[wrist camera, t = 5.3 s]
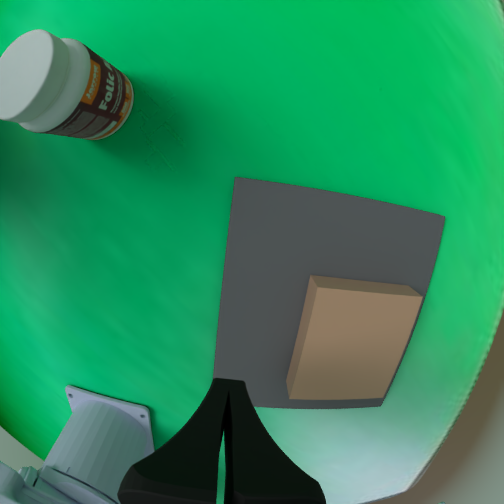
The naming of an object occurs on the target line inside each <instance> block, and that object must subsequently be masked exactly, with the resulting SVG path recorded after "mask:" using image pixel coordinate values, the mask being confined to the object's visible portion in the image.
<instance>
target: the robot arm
mask: <svg viewBox="0 0 504 504" xmlns="http://www.w3.org/2000/svg"><path fill="white" fill-rule="evenodd" d="M65 391H66V394H67V397H68V400H69V404H70V407H71V410H72V413H73V414H72V415H71V417H70V419H69V420H68V422H67V423H66V425H65V427H64V428H63V430H62V432H61V434H60V435H59V437H58V439H57V440H56V442H55V444H54V445H53V447H52V449H51V451H50V452H49V454H48V456H47V458H46V460H45V461H44V463H43V465H42V467H41V468H40V469H39V470H38V471H37V470H36V469H34V468H33V467H32V466H30V467H22V468H21V469H20V470H19V471H18V472H17V471H15V470H14V469H12V468H11V467H9V466H7V465H6V464H4V463H3V462H1V461H0V504H216V497H217V479H218V462H219V452H220V447H221V442H222V437H223V431H224V443H225V465H226V476H225V492H224V504H326V499H325V496H324V493H323V491H322V489H321V486H320V484H319V482H317V481H316V480H315V479H313V478H312V477H310V476H309V475H308V474H306V473H305V472H304V471H303V470H301V469H300V468H299V467H298V466H297V465H296V464H295V463H294V462H293V461H292V460H291V459H290V458H289V457H288V456H287V455H286V454H285V453H284V452H283V451H282V450H281V449H280V448H279V446H278V445H277V444H276V443H275V442H274V440H273V439H272V437H271V436H270V435H269V433H268V432H267V430H266V429H265V427H264V425H263V424H262V422H261V420H260V418H259V417H258V415H257V413H256V411H255V409H254V407H253V404H252V402H251V399H250V397H249V394H248V391H247V388H246V383H245V382H244V381H243V380H233V379H224V378H214V379H213V381H212V384H211V386H210V389H209V391H208V393H207V394H206V396H205V398H204V400H203V401H202V403H201V404H200V406H199V407H198V409H197V410H196V411H195V413H194V414H193V415H192V417H191V418H190V419H189V421H188V422H187V423H186V424H185V425H184V426H183V427H182V428H181V429H180V430H179V431H178V432H177V433H176V434H175V435H174V436H173V437H172V438H171V439H170V440H169V441H168V442H166V443H165V444H164V445H163V446H161V447H160V448H158V449H157V450H156V451H155V450H154V443H153V436H152V429H151V421H150V413H149V409H148V408H147V407H145V406H142V405H137V404H133V403H129V402H125V401H121V400H117V399H113V398H110V397H106V396H102V395H99V394H96V393H92V392H89V391H86V390H83V389H79V388H76V387H73V386H70V385H67V386H66V388H65ZM438 504H445V502H441V503H438Z"/></svg>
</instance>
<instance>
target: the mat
mask: <svg viewBox="0 0 504 504" xmlns="http://www.w3.org/2000/svg"><path fill="white" fill-rule="evenodd" d="M444 221H445V216H441V215H438V214H434V213H430V212H426V211H422V210H417V209H413V208H409V207H405V206H400V205H396V204H391V203H387V202H382V201H377V200H373V199H368V198H363V197H358V196H353V195H348V194H342V193H337V192H331V191H326V190H320V189H314V188H308V187H302V186H296V185H290V184H283V183H276V182H269V181H262V180H255V179H247V178H240V177H235V181H234V189H233V197H232V205H231V213H230V221H229V229H228V238H227V246H226V255H225V264H224V273H223V282H222V291H221V300H220V310H219V320H218V330H217V340H216V351H215V362H214V373H213V379H214V378H224V379H233V380H243V381H244V382H245V383H246V388H247V391H248V394H249V397H250V399H251V402H252V404H253V406H254V407H269V408H291V409H342V408H364V407H378V406H381V405H382V403H383V401H384V399H385V397H386V395H387V393H388V391H389V389H390V386H391V384H392V382H393V380H394V378H395V375H396V373H397V371H398V369H399V366H400V364H401V362H402V359H403V357H404V354H405V352H406V349H407V347H408V344H409V342H410V339H411V337H412V334H413V331H414V328H415V326H416V323H417V320H418V317H419V314H420V311H421V308H422V305H423V302H424V299H425V296H426V293H427V289H428V286H429V283H430V279H431V276H432V272H433V268H434V265H435V261H436V257H437V253H438V249H439V244H440V240H441V235H442V231H443V226H444ZM310 275H316V276H325V277H334V278H343V279H352V280H361V281H371V282H380V283H390V284H399V285H408V286H410V287H411V288H412V289H413V290H415V291H416V292H417V293H419V294H420V295H421V296H422V297H423V298H422V301H421V304H420V307H419V310H418V313H417V316H416V319H415V322H414V325H413V328H412V330H411V333H410V336H409V338H408V341H407V344H406V346H405V349H404V351H403V354H402V356H401V359H400V361H399V363H398V366H397V368H396V370H395V373H394V375H393V377H392V379H391V382H390V384H389V386H388V388H387V390H386V392H385V394H384V397H383V398H370V399H345V400H303V399H289V395H288V389H287V383H286V379H287V375H288V371H289V367H290V363H291V359H292V355H293V351H294V347H295V342H296V338H297V334H298V330H299V325H300V321H301V317H302V312H303V307H304V303H305V298H306V294H307V289H308V284H309V279H310Z"/></svg>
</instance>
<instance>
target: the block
mask: <svg viewBox="0 0 504 504" xmlns="http://www.w3.org/2000/svg"><path fill="white" fill-rule="evenodd" d="M422 298H423V297H422V296H421V295H420V294H419V293H417V292H416V291H415V290H413V289H412V288H411V287H410V286H408V285H399V284H390V283H380V282H371V281H361V280H352V279H343V278H334V277H325V276H316V275H310V279H309V284H308V289H307V294H306V298H305V303H304V307H303V312H302V317H301V321H300V325H299V330H298V334H297V338H296V342H295V347H294V351H293V355H292V359H291V363H290V367H289V371H288V375H287V379H286V383H287V389H288V395H289V399H303V400H345V399H370V398H383V397H384V394H385V392H386V390H387V388H388V386H389V384H390V382H391V379H392V377H393V375H394V373H395V370H396V368H397V366H398V363H399V361H400V359H401V356H402V354H403V351H404V349H405V346H406V344H407V341H408V338H409V336H410V333H411V330H412V328H413V325H414V322H415V319H416V316H417V313H418V310H419V307H420V304H421V301H422Z"/></svg>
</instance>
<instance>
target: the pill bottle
mask: <svg viewBox="0 0 504 504" xmlns="http://www.w3.org/2000/svg"><path fill="white" fill-rule="evenodd" d="M133 101H134V93H133V88H132V84H131V82H130V81H129V79H128V78H127V77H126V76H125V75H124V74H123V73H122V72H120V71H119V70H118V69H116V68H115V67H114V66H112V65H111V64H110V63H108V62H107V61H106V60H104V59H103V58H102V57H100V56H99V55H97V54H96V53H94V52H93V51H92V50H91V49H89V48H88V47H87V46H85V45H84V44H82V43H81V42H79V41H77V40H74V39H69V38H62V39H60V38H58V37H56V36H54V35H53V34H51V33H49V32H47V31H45V30H33V31H29V32H27V33H25V34H23V35H22V36H20V37H19V38H17V39H16V40H15V41H14V42H13V43H12V44H11V45H10V46H9V47H8V48H7V49H6V51H5V52H4V53H3V55H2V56H1V58H0V119H1V120H5V121H12V122H16V123H19V124H20V125H21V126H22V127H23V128H25V129H26V130H29V131H32V132H35V133H46V134H54V135H61V136H68V137H75V138H81V139H88V140H98V139H102V138H105V137H108V136H110V135H111V134H113V133H115V132H116V131H117V130H118V129H119V128H120V127H121V126H122V125H123V124H124V122H125V121H126V119H127V118H128V116H129V114H130V112H131V110H132V106H133Z"/></svg>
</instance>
